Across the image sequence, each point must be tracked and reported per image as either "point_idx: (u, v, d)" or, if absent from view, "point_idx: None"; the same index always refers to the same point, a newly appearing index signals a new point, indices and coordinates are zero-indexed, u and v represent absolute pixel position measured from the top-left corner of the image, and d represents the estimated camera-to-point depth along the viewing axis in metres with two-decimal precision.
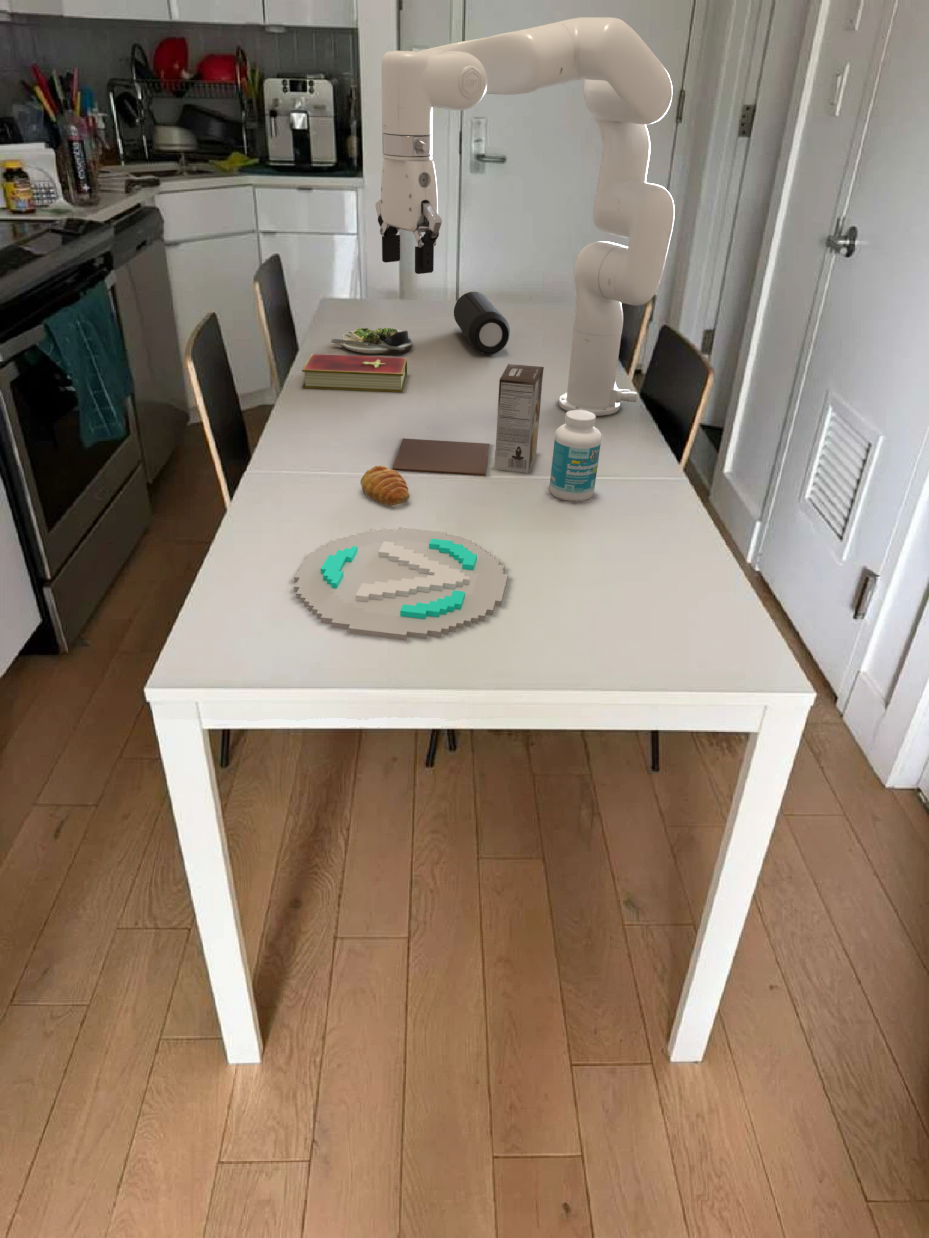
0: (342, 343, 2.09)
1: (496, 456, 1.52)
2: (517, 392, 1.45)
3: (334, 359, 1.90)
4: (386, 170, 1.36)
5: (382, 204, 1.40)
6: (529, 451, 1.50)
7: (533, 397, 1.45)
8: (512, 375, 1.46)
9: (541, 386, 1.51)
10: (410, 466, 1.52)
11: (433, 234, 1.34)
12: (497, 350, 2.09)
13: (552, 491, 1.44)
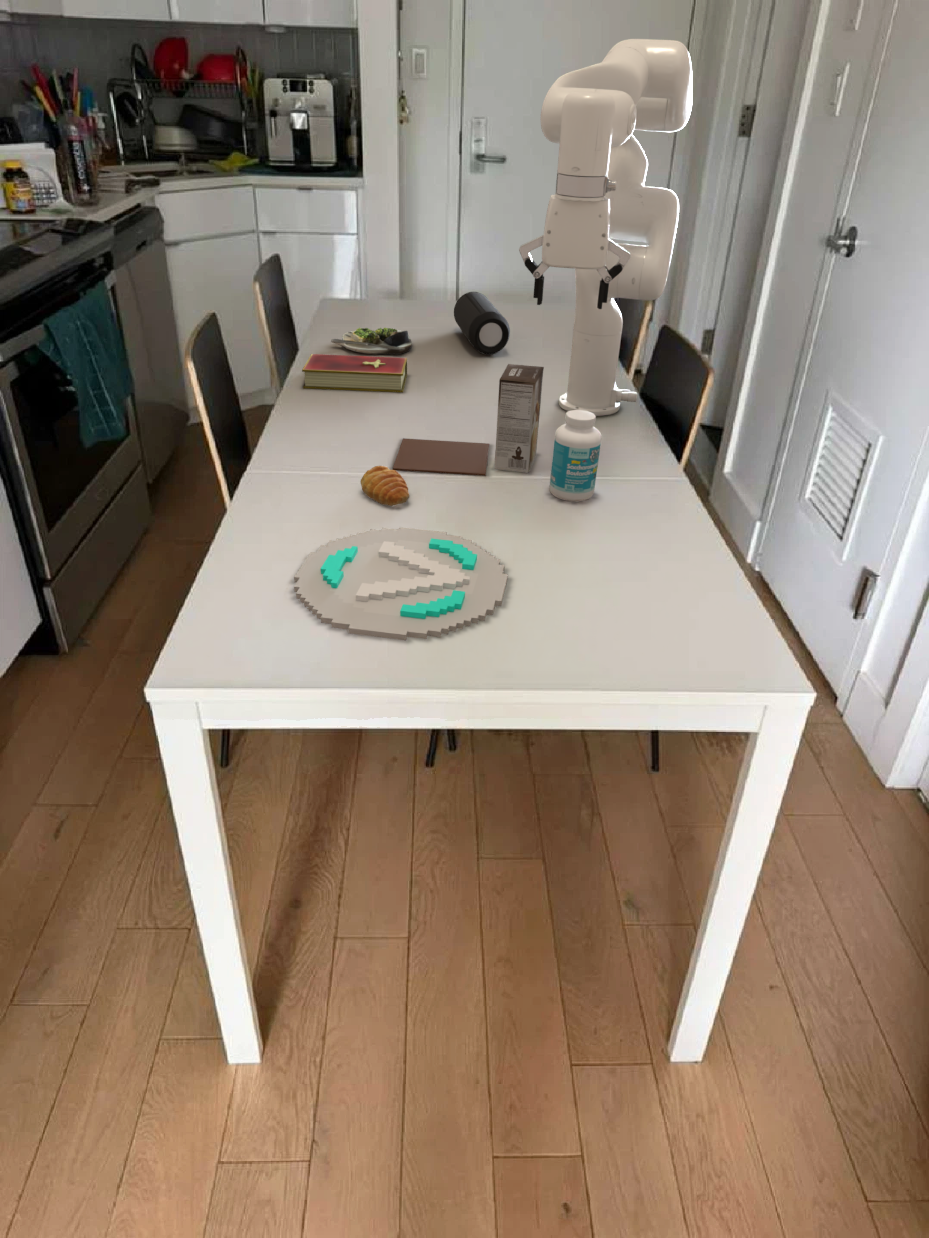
0: (342, 343, 2.09)
1: (496, 456, 1.52)
2: (517, 392, 1.45)
3: (334, 359, 1.90)
4: (563, 212, 1.33)
5: (549, 247, 1.36)
6: (529, 451, 1.50)
7: (533, 397, 1.45)
8: (512, 375, 1.46)
9: (541, 386, 1.51)
10: (410, 466, 1.52)
11: (622, 268, 1.38)
12: (497, 350, 2.09)
13: (552, 491, 1.44)
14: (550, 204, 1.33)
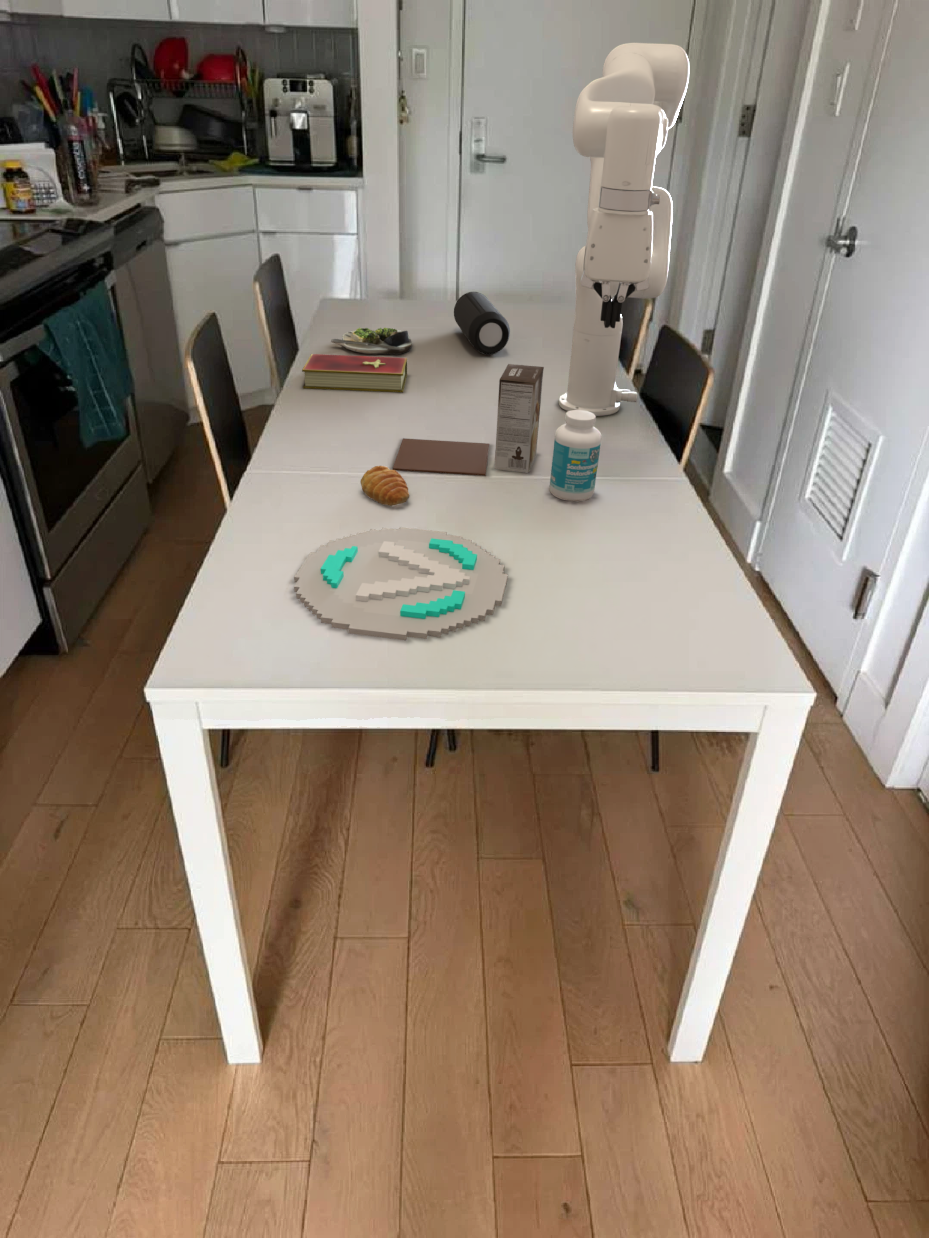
0: (342, 343, 2.09)
1: (496, 456, 1.52)
2: (517, 392, 1.45)
3: (334, 359, 1.90)
4: (607, 226, 1.32)
5: (593, 260, 1.35)
6: (529, 451, 1.50)
7: (533, 397, 1.45)
8: (512, 375, 1.46)
9: (541, 386, 1.51)
10: (410, 466, 1.52)
11: None
12: (497, 350, 2.09)
13: (552, 491, 1.44)
14: (594, 218, 1.33)
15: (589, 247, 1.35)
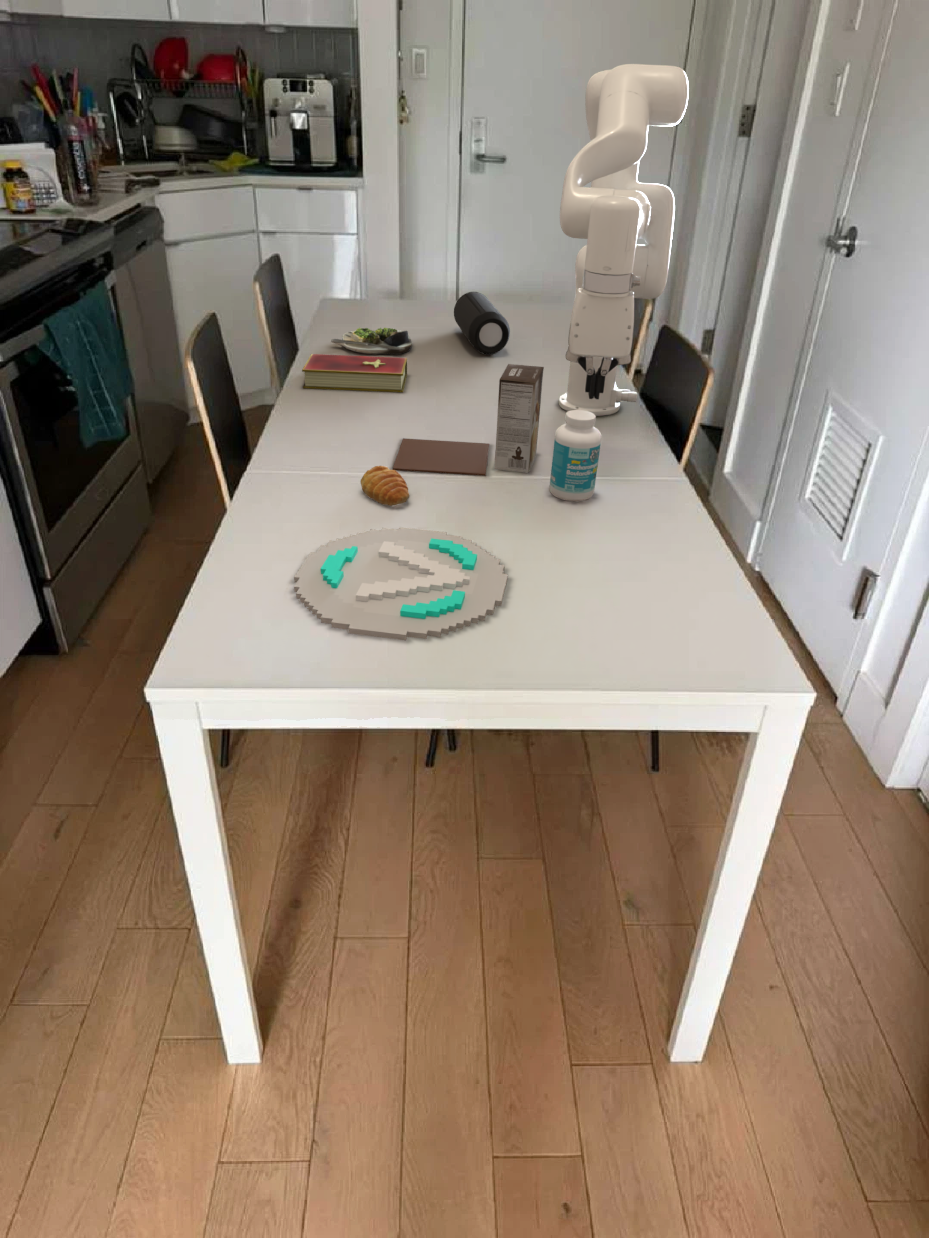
0: (342, 343, 2.09)
1: (496, 456, 1.52)
2: (517, 392, 1.45)
3: (334, 359, 1.90)
4: (591, 306, 1.39)
5: (577, 338, 1.42)
6: (529, 451, 1.50)
7: (533, 397, 1.45)
8: (512, 375, 1.46)
9: (541, 386, 1.51)
10: (410, 466, 1.52)
11: (616, 365, 1.46)
12: (497, 350, 2.09)
13: (552, 491, 1.44)
14: (578, 298, 1.39)
15: (573, 325, 1.41)
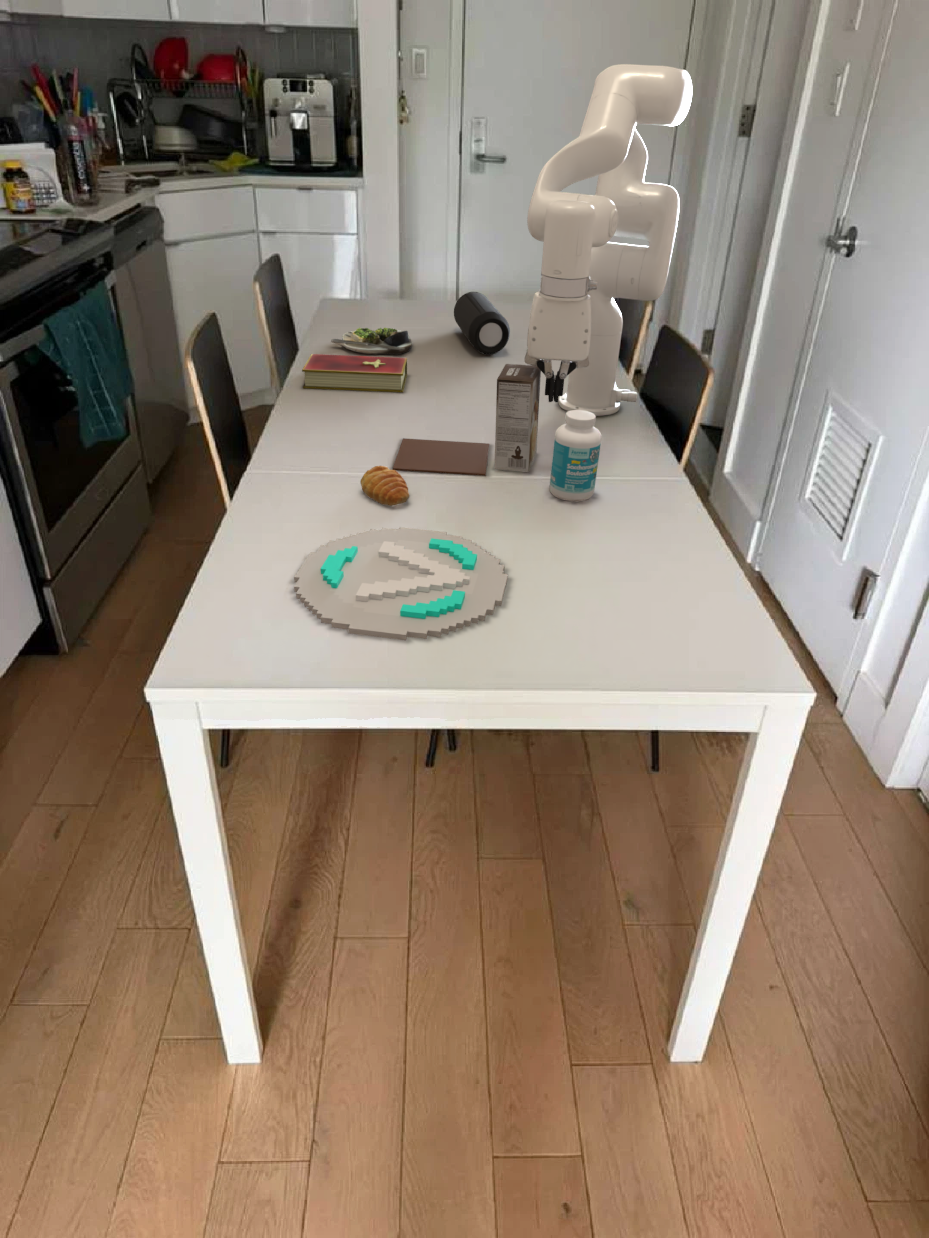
0: (342, 343, 2.09)
1: (496, 456, 1.52)
2: (515, 391, 1.45)
3: (334, 359, 1.90)
4: (548, 310, 1.40)
5: (535, 341, 1.43)
6: (528, 450, 1.50)
7: (531, 396, 1.45)
8: (510, 374, 1.46)
9: (539, 385, 1.51)
10: (410, 466, 1.52)
11: None
12: (497, 350, 2.09)
13: (552, 491, 1.44)
14: (535, 302, 1.40)
15: (531, 329, 1.42)
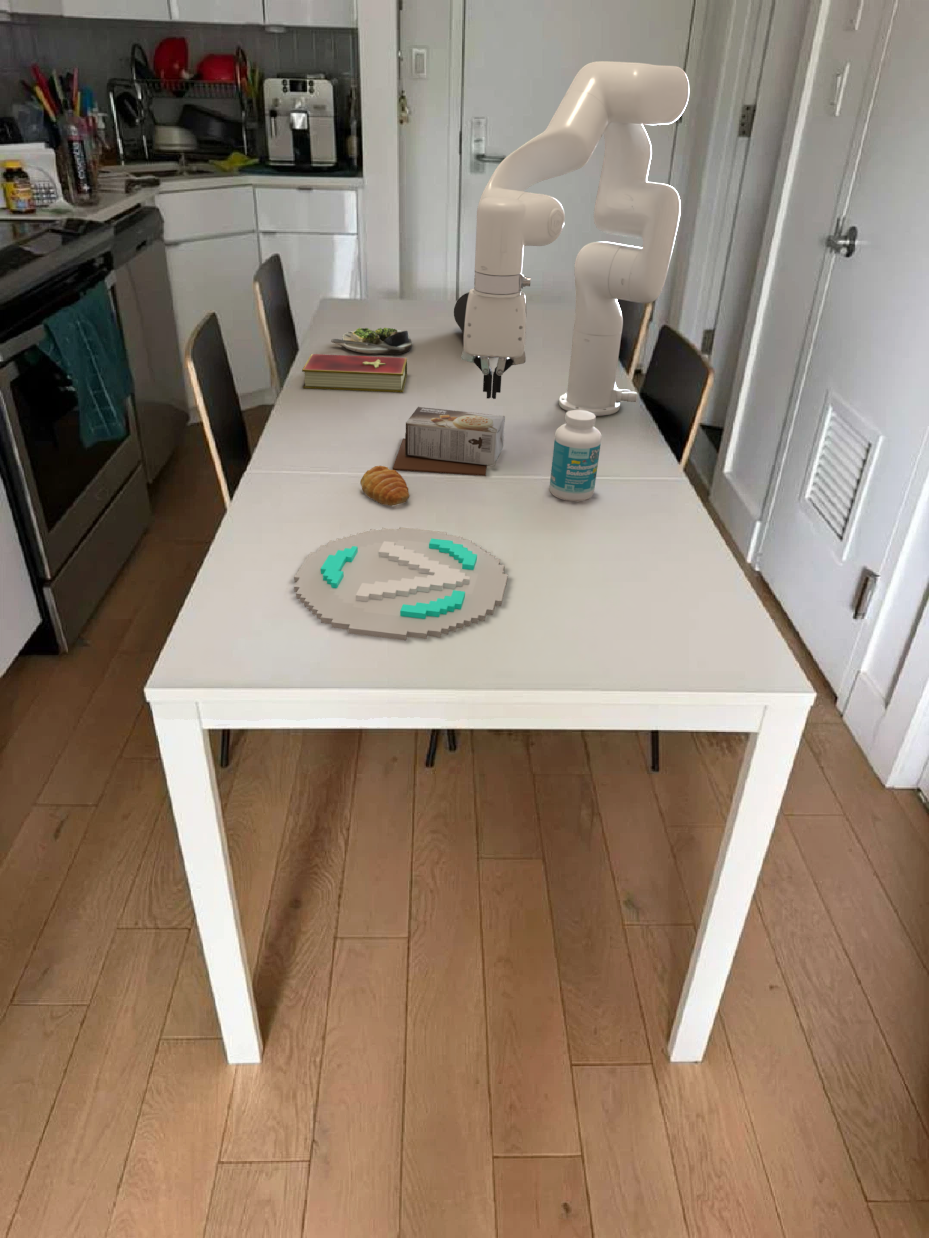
0: (342, 343, 2.09)
1: (480, 463, 1.53)
2: (415, 440, 1.53)
3: (334, 359, 1.90)
4: (481, 307, 1.40)
5: (470, 338, 1.43)
6: (473, 431, 1.50)
7: (419, 425, 1.52)
8: None
9: (432, 410, 1.58)
10: (410, 466, 1.52)
11: (512, 364, 1.47)
12: None
13: (552, 491, 1.44)
14: (469, 299, 1.41)
15: (466, 326, 1.42)
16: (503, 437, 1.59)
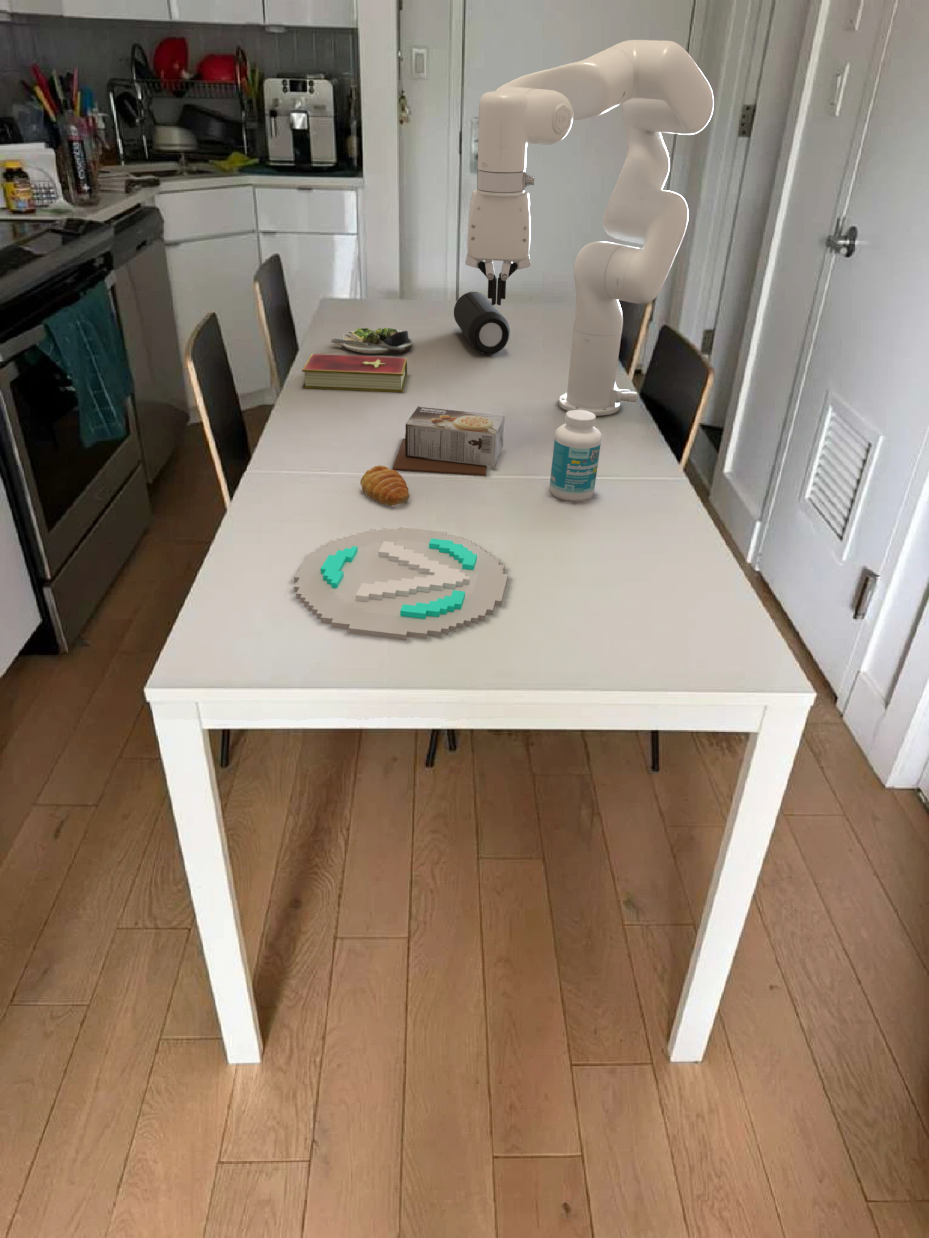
0: (342, 343, 2.09)
1: (480, 464, 1.53)
2: (415, 441, 1.53)
3: (334, 359, 1.90)
4: (485, 207, 1.39)
5: (474, 240, 1.42)
6: (473, 432, 1.50)
7: (419, 426, 1.52)
8: None
9: (432, 410, 1.58)
10: (410, 466, 1.52)
11: (516, 269, 1.45)
12: (497, 350, 2.09)
13: (552, 491, 1.44)
14: (472, 200, 1.39)
15: (470, 228, 1.41)
16: (503, 437, 1.59)
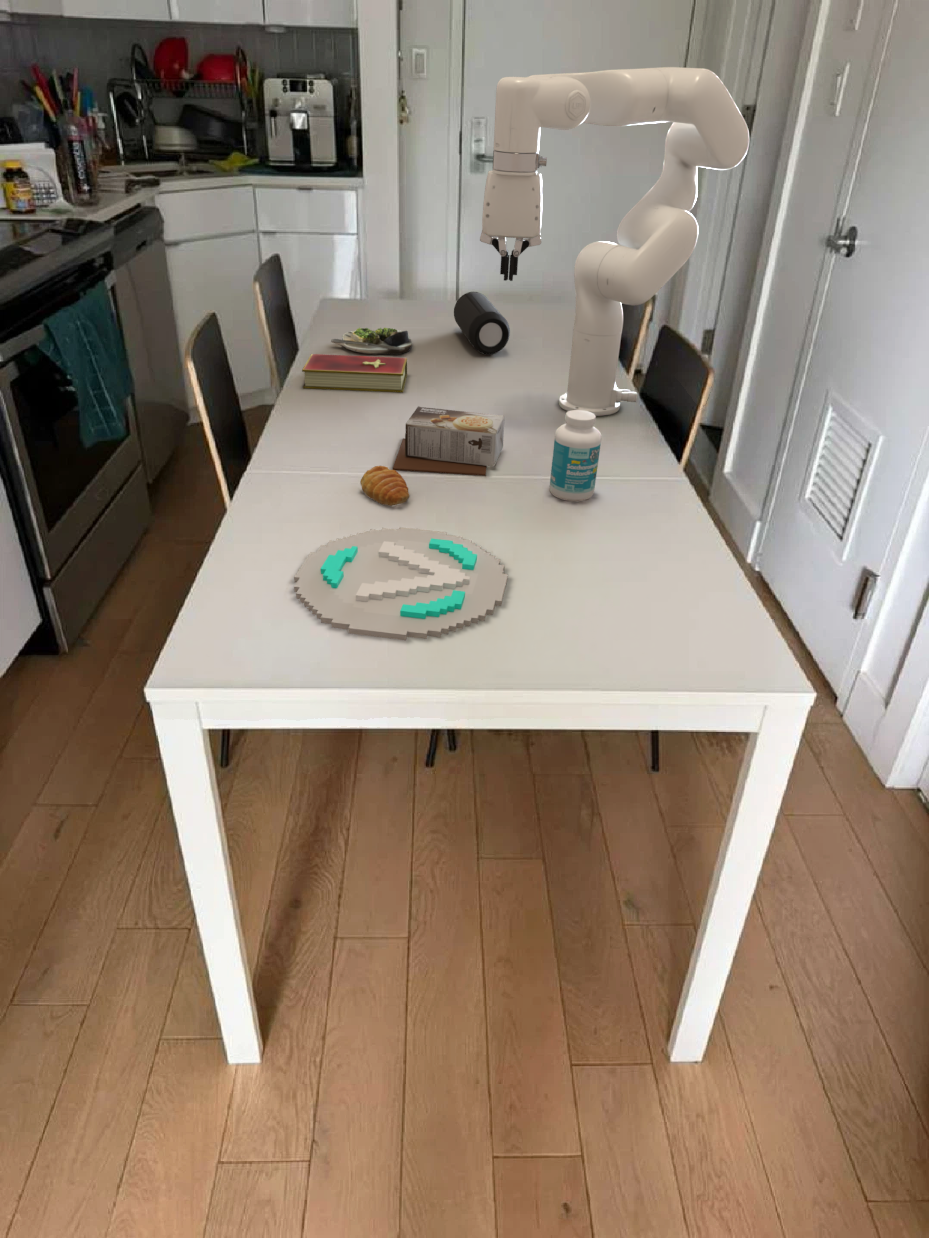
0: (342, 343, 2.09)
1: (480, 464, 1.53)
2: (415, 441, 1.53)
3: (334, 359, 1.90)
4: (500, 186, 1.47)
5: (488, 218, 1.50)
6: (473, 432, 1.50)
7: (419, 426, 1.52)
8: None
9: (432, 410, 1.58)
10: (410, 466, 1.52)
11: (528, 246, 1.54)
12: (497, 350, 2.09)
13: (552, 491, 1.44)
14: (488, 179, 1.47)
15: (485, 206, 1.49)
16: (503, 437, 1.59)
